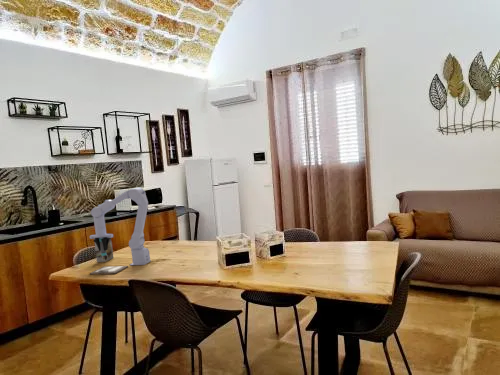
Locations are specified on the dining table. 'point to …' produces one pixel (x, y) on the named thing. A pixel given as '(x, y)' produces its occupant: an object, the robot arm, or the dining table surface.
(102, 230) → the robot arm
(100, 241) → the marker
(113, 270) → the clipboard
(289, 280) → the dining table surface
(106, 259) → the coffee box
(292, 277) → the dining table surface
